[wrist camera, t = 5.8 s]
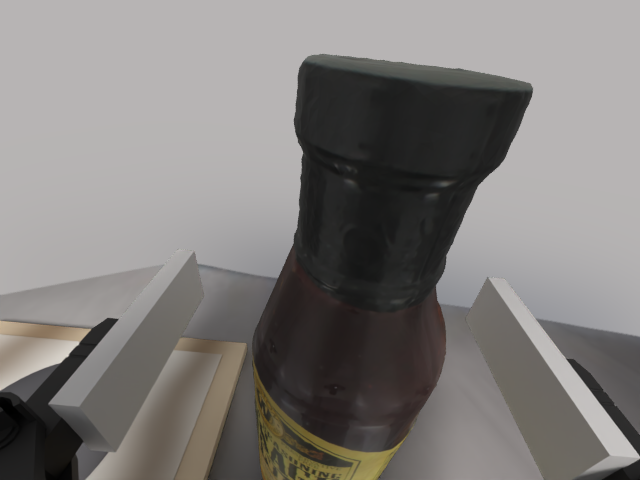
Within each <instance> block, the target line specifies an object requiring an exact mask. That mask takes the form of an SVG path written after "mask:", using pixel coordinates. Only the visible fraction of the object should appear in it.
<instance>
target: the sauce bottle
mask: <svg viewBox="0 0 640 480" xmlns="http://www.w3.org/2000/svg"><path fill="white" fill-rule="evenodd" d="M532 93H533V88H532V86H531V84H530V83H526V82H522V81H518V80H514V79H509V78H505V77H501V76H496V75H490V74H485V73H479V72H474V71H468V70H463V69H451V68H443V67H436V66H425V65H416V64H409V63H403V62H390V61H385V60H373V59H368V58H356V57H349V56H337V55H327V54H320V55H312V56H308V57H307V58H306V59H305V60H304V61H303V63H302V65H301V67H300V68H299V73H298V89H297V100H296V112H295V118H294V125H295V132H296V135H297V138H298V143H299V144H300V146H301V148H302V150H303V156H302V174H301V178H300V179H301V190H300V199H299V206H300V211H299V218H298V228H297V230H296V233H295V235H294V244H293V246H292V248H291V250H290V253H289V255H288V257H287V259H286V262H285V264H284V266H283V269H282V271H281V273H280V275H279V278H278V280H277V282H276V284H275V287H274V289H273V291H272V294H271V296H270V298H269V300H268V303H267V305H266V307H265V310H264V312H263V314H262V316H261V319H260V321H259V323H258V325H257V328H256V330H255V333H254V336H253V343H252V355H253V361H252V366H253V370H254V372H253V375H254V383H255V406H256V416H257V430H258V441H259V455H260V466H261V473H262V477H263V480H377V479H378V478H379V476H380V475H381V473H382V472H383V470H384V469H385V467H386V466H387V464H388V463H389V461H390V460H391V459H392V457H393V456H394V454H395V453H396V451H397V450H398V449H399V447H400V446H401V444H402V443H403V441H404V440H405V438H406V437H407V436H408V434H409V433H410V431H411V429H412V428H413V426H414V424H415V422H416V419H417V417H418V414H419V411H420V410H421V408H422V407H423V406H424V404H425V403H426V401H427V399H428V398H429V396H430V394H431V393H432V391H433V390H434V388H435V387H436V385H437V381H438V379H439V377H440V374H441V371H442V367H443V363H444V359H445V355H446V330H445V322H444V318H443V315H442V311H441V307H440V305H439V303H438V301H437V295H436V284H437V283H438V281H439V279H440V278H441V276H442V274H443V272H444V269H445V265H446V255H447V253H448V251H449V249H450V246H451V245H452V243H453V241H454V238H455V236H456V233H457V231H458V229H459V227H460V225H461V223H462V220H463V217H464V215H465V213H466V210H467V208H468V207H469V205H470V203H471V201H472V198H473V196H474V193H475V191H476V189H477V187H478V185H479V184H480V183H481V182H482V181H483V180H484V179H485V178H486V177H487V176H488V175H489V174H490V173H492V172H493V171H494V170H495V169H496V168H497V167H498V166H499V165H500V164H501V163H502V162H503V160H504V159H505V157H506V154H507V152H508V149H509V147H510V145H511V142H512V141H513V139H514V137H515V135H516V133H517V131H518V129H519V127H520V124H521V121H522V119H523V116H524V113H525V110H526V108H527V107H528V105H529V102H530V100H531V97H532Z"/></svg>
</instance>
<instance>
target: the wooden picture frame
mask: <svg viewBox="0 0 640 480" xmlns="http://www.w3.org/2000/svg"><path fill="white" fill-rule="evenodd" d="M90 330H91V329H84V328H73V327H62V326H51V325H40V324H29V323H18V322H7V321H0V392H12V393H14V394H16V395H17V396H19V397H20V398H21V399H22V400H23V401H24V402H26V401H27V400H28V399H29V398H30V396H31V395H32V394H33V393H34V392H35V391H36V390H37V389H38V388H39V387H40V385H41V384H42V383H43V382H44V381H45V380H46V379H47V378H48V377H49V376H50V374H51V373H52V372H53V371H54V370H55V369H56V368H57V367H58V366H59V364H60V363H61V362H62V361H63V360H64V359H65V358H66V357H68V356H69V353H70V352H71V351H72V350H73V349H74V348H75V347H76V346H78V345H79V342H80V341H81V340H82V339H83V338H84V337H85V336H86V335H87V334H88V332H89V331H90ZM246 353H247V343H238V342H227V341H216V340H205V339H194V338H183V337H181V338H180V339H179V341H178V343H177V345H176V346H175V348H174V350H173V352H172V354H171V355H170V357H169V359H168V361H167V363H166V364H165V366H164V368H163V370H162V371H161V373H160V375H159V377H158V379H157V380H156V382H155V384H154V386H153V387H152V389H151V391H150V393H149V395H148V396H147V398H146V400H145V402H144V404H143V405H142V407H141V409H140V411H139V412H138V414H137V416H136V418H135V420H134V421H133V423H132V425H131V427H130V428H129V430H128V432H127V434H126V436H125V437H124V439H123V441H122V443H121V445H120V446H119V448H118V450H117V452H105V451H94V450H90V449H89V448H88V447H87V446H86V444H85V443H84V442H83V443H82V445H81V446H80V448H79V449H78V451H77V452H76V456H77V458H78V472H79V480H207V479H208V476H209V473H210V470H211V466H212V463H213V460H214V457H215V453H216V450H217V447H218V444H219V440H220V437H221V434H222V431H223V427H224V424H225V421H226V418H227V414H228V411H229V408H230V405H231V401H232V398H233V395H234V392H235V388H236V385H237V382H238V379H239V376H240V372H241V369H242V366H243V363H244V359H245V356H246Z"/></svg>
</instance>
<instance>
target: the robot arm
mask: <svg viewBox="0 0 640 480" xmlns="http://www.w3.org/2000/svg"><path fill="white" fill-rule="evenodd" d="M203 297H204V292H203V288H202V283H201V279H200V274H199V270H198V265H197V260H196V256H195V251H191V250H179V249H177V250H176V252H175V253H174V254H173V255H172V256H171V258H170V259H169V260H168V261H167V262H166V264H165V265H164V266H163V267H162V268H161V269H160V271H159V272H158V273H157V274H156V275H155V277H154V278H153V279H152V280H151V281H150V283H149V284H148V285H147V286H146V287H145V289H144V290H143V291H142V292H141V293H140V295H139V296H138V297H137V298H136V299H135V301H134V302H133V303H132V304H131V305H130V307H129V308H128V309H127V310H126V311H125V313H124V314H123V315H122V316H121V317H120V319H113V318H107V319H106V320H104V321H103V322H101V323H100V324H98V325H97V326H95V327H94V328H92V329H91V330H90V331H89V332H88V334H87V335H86V336H85V337H84V338H83V339H82V340H81V341H80V342H79V345H78V346H76V347H75V348H74V349H73V350H72V351H71V352H70V353H69V356H68V357H66V358H65V359H64V360H63V361H62V362H61V363H60V364H59V366H58V367H57V368H56V369H55V370H54V371H53V372H52V373H51V374H50V376H49V377H48V378H47V379H46V380H45V381H44V382H43V383H42V384H41V385H40V387H39V388H38V389H37V390H36V391H35V392H34V393H33V394H32V395H31V396H30V398H29V399H28V400H27V401H26V402H24V401H23V400H22V399H21V398H20V397H19V396H17V395H16V394H14V393H12V392H0V480H79V472H78V458H77V456H76V452H77V451H78V449H79V448H80V446H81V445H82V443H83V442H84V443H85V444H86V446H87V447H88V448H89V449H90V450H94V451H105V452H117V450H118V448H119V446H120V445H121V443H122V441H123V439H124V437H125V436H126V434H127V432H128V430H129V428H130V427H131V425H132V423H133V421H134V420H135V418H136V416H137V414H138V412H139V411H140V409H141V407H142V405H143V404H144V402H145V400H146V398H147V396H148V395H149V393H150V391H151V389H152V387H153V386H154V384H155V382H156V380H157V379H158V377H159V375H160V373H161V371H162V370H163V368H164V366H165V364H166V363H167V361H168V359H169V357H170V355H171V354H172V352H173V350H174V348H175V346H176V345H177V343H178V341H179V339H180V338H181V336H182V334H183V332H184V330H185V329H186V327H187V325H188V323H189V321H190V320H191V318H192V316H193V314H194V313H195V311H196V309H197V307H198V305H199V304H200V302H201V300H202V298H203ZM466 321H467V323H468V325H469V327H470V329H471V331H472V333H473V335H474V338H475V340H476V342H477V344H478V346H479V348H480V350H481V352H482V354H483V356H484V358H485V360H486V362H487V364H488V366H489V368H490V370H491V372H492V374H493V376H494V378H495V380H496V382H497V384H498V386H499V388H500V390H501V392H502V395H503V397H504V399H505V401H506V403H507V405H508V407H509V409H510V411H511V413H512V415H513V417H514V419H515V421H516V423H517V425H518V427H519V429H520V431H521V433H522V435H523V437H524V439H525V441H526V443H527V445H528V447H529V450H530V452H531V454H532V456H533V458H534V460H535V462H536V464H537V466H538V468H539V470H540V472H541V474H542V476H543V478H544V480H640V435H639V434H638V432H637V431H636V430H635V429H634V427H633V426H632V425H631V424H630V422H629V421H628V420H627V419H626V418H625V416H624V415H623V414H622V413H621V411H620V410H619V409H618V408H617V406H614V403H613V401H612V400H611V399H610V398H609V396H608V395H607V394H606V393H604V392H603V389H602V388H601V386H600V385H599V384H598V383H597V381H596V380H595V379H594V378H593V376H592V375H591V374H590V373H589V372H588V371H587V370H585V369H584V368H583V367H582V366H581V365H580V364H578V363H577V362H576V361H575V360H574V359H566V358H565V357H564V356H563V354H562V353H561V352H560V350H559V349H558V348H557V347H556V345H555V344H554V343H553V341H552V340H551V339H550V337H549V336H548V335H547V333H546V332H545V331H544V329H543V328H542V327H541V325H540V324H539V323H538V322H537V320H536V319H535V318H534V316H533V315H532V314H531V312H530V311H529V310H528V308H527V307H526V306H525V304H524V303H523V302H522V301H521V299H520V298H519V297H518V295H517V294H516V293H515V291H514V290H513V289H512V287H511V286H510V285H509V283H508V282H507V281H506V279H504V278H493V277H487V279H486V281H485V283H484V285H483V287H482V289H481V291H480V292H479V295H478V296H477V298H476V300H475V302H474V304H473V306H472V307H471V309H470V311H469V313H468V315H467V317H466Z"/></svg>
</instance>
